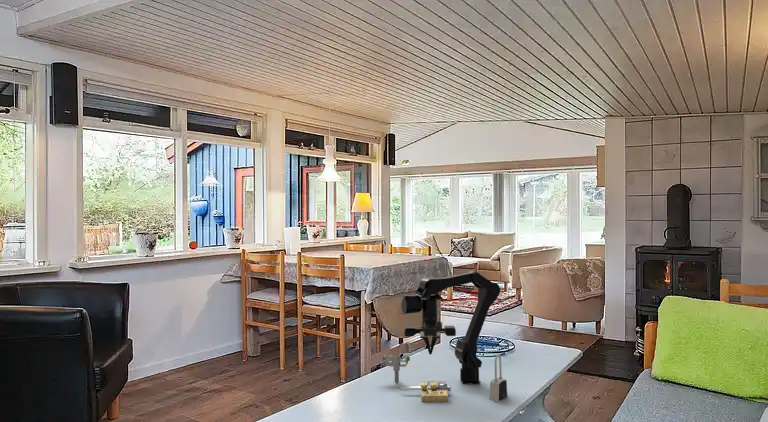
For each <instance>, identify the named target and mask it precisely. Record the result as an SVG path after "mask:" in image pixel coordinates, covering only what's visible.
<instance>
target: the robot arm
mask: <svg viewBox="0 0 768 422" xmlns="http://www.w3.org/2000/svg"><path fill="white" fill-rule="evenodd" d="M467 284H473V286H474V287H476V288H477V289H478V291H477V304H476V307H475V309H474V312H473V314H472V316H471V320H470V322H469V325H468V328H467V330H466V332H465V336H464V337H463V338H462V339H460V338H459V339H457V341H456V345H455V347H454V348H453V349H454V357H455V358H456V359H457V360H458V361H459V364H461V368H459V374H460V375H459V378H460V381H461V383H462V384H463V385H465V384H466V385H467V384H468V385H470V384H471V385H472V384H473V385H475V384H476V385H477V384H478V385H479V384H481V381H480V368H482V367H481V366H482V365H483V361H482V360H481V359H480V358H478V356H477V353H478V339H479V336H480V334H481V332H482V329H483V326H484V323H485V320H486V319H487V315H488V312H489V310H490V307H491V306H492V305H494V303H495V302H496V300H497V299H498V297H499V295H500V294H501V286H500V285H499V284H498V283H497V282H493V281H491V280H489V279H488V278H486V277H484V275H481V274H480V272H478V271H475V270H470V271H468V272H464V273H457V274H454V275H448V276H444V277H437V276H436V277H435V276H434V277H431V276H430V277H428V276H427V277H423V278H422V279H421V280H420V281H419V285H418V287H417V289H416V290H415V292H414V293H413V294H412V295H411V294H410V295H409V294H405V295H404V294H403V297H402V299H401V304H400V307H401V308H400V309H401V312H402V313H403V315H410V314H419V313H420V312H421V327H419V328H416V325H406V326H405V327H404V337H414V336H416V334H417V335H418V334H419V337H420V339H423V341H424V343H425V345H426V348H427V352H428V354H429V355H432V354H433V351H434V347H435V344H436V343H437V342H436V341H437V340H438V339H441V334H445V336H447V337H456V335H457V330H456V327H455V326H454V325H444V328H443V322H442V321H439V319H438V300H440V301H441V300H443V299H444V297H442V296H441V295H440V294H439V293H440V292H442V291H444V290H446V289H448V288H453V287H458V286H462V285H467ZM429 336H430V337H431V339H429Z"/></svg>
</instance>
